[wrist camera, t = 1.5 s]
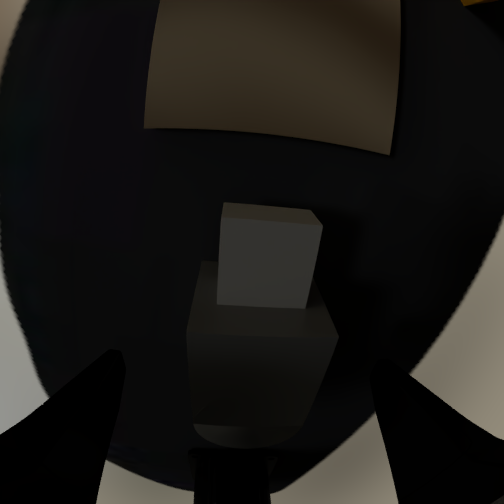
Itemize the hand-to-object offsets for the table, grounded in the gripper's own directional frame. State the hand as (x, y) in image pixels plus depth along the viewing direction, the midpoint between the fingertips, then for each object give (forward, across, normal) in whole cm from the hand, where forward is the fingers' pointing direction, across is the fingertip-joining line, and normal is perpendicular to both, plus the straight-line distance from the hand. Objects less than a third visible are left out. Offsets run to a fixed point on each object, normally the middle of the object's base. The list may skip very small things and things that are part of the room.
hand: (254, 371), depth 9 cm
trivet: (+3, 0, -12) cm, 12 cm away
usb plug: (+3, 0, -1) cm, 3 cm away
